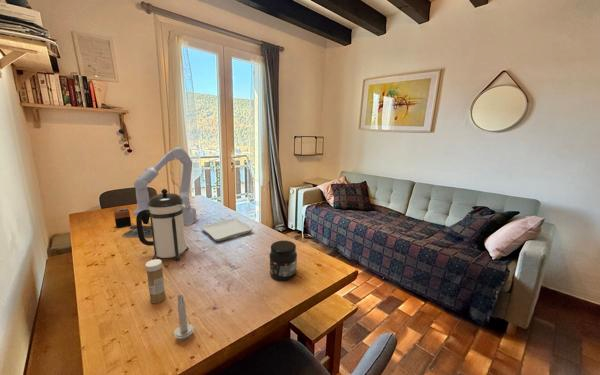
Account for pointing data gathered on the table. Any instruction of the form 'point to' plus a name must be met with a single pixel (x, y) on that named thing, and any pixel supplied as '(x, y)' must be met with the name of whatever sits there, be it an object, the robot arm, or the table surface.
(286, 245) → the supplement container
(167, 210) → the coffee press
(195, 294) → the table surface
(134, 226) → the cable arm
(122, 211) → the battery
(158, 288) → the sprinkles bottle
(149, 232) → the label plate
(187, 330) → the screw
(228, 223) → the salad plate
